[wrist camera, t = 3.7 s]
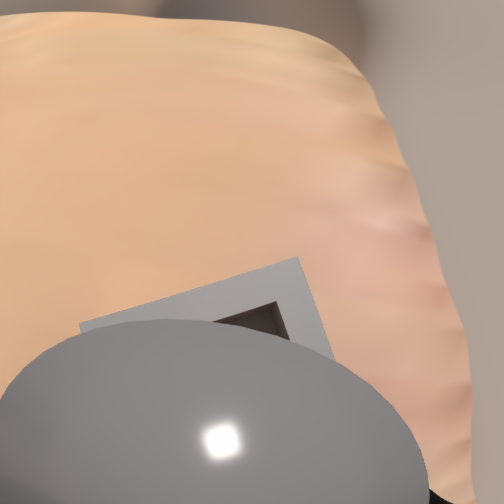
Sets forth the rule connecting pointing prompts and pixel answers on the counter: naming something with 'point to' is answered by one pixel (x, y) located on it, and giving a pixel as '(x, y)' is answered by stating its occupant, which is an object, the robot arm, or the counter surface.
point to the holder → (242, 306)
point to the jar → (200, 423)
